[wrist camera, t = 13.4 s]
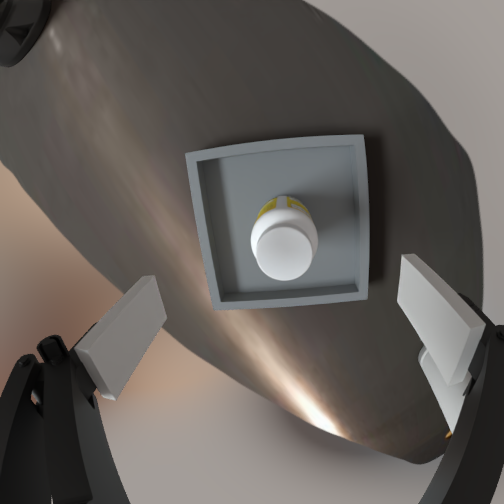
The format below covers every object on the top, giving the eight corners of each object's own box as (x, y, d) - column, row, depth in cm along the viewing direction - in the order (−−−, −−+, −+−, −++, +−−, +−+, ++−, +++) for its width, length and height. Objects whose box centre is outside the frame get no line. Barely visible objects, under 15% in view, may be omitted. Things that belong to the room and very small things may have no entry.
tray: (194, 153, 28) (185, 153, 25) (355, 136, 25) (363, 134, 22) (219, 297, 33) (213, 310, 30) (360, 286, 30) (367, 299, 28)
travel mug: (452, 326, 31) (517, 422, 12) (449, 356, 33) (499, 448, 14) (418, 340, 32) (472, 450, 13) (417, 370, 34) (458, 472, 15)
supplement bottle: (259, 246, 29) (247, 290, 20) (256, 195, 27) (241, 216, 18) (310, 245, 28) (321, 288, 19) (310, 194, 27) (323, 214, 17)
